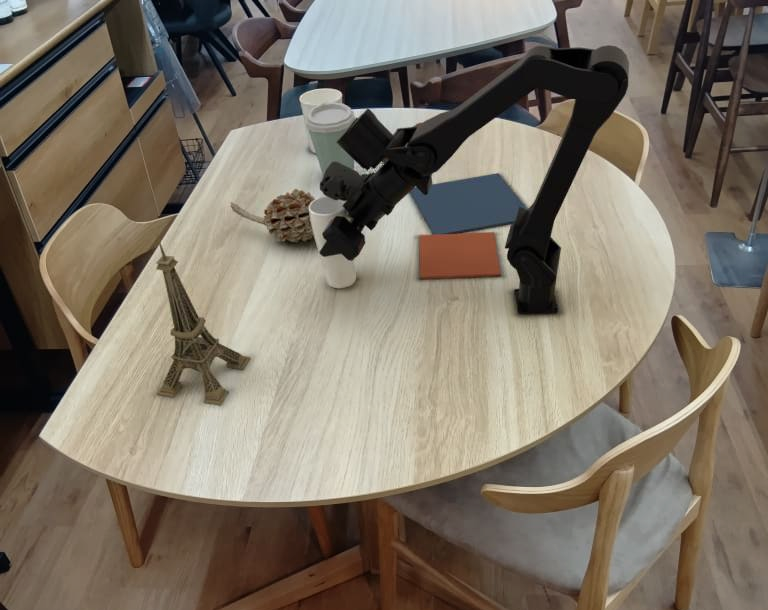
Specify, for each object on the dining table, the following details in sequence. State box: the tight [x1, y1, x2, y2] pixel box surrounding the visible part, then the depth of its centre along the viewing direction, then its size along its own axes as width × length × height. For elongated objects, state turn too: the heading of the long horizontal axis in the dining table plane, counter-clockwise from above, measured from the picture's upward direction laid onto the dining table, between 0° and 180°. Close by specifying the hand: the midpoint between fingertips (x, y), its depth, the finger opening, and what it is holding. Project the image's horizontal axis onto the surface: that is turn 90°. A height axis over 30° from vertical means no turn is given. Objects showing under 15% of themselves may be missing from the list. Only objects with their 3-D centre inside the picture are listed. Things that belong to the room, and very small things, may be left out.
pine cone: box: [229, 188, 316, 243], centre depth 127 cm, size 22×10×10 cm, turn 73°
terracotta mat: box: [419, 231, 501, 280], centre depth 122 cm, size 14×14×1 cm
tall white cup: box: [309, 195, 357, 289], centre depth 113 cm, size 7×7×15 cm
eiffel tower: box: [155, 231, 251, 406], centre depth 93 cm, size 11×11×25 cm
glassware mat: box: [409, 172, 528, 235], centre depth 135 cm, size 20×20×1 cm
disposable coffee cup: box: [305, 102, 356, 177], centre depth 142 cm, size 11×11×15 cm
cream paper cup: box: [298, 88, 343, 154], centre depth 156 cm, size 10×10×12 cm
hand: (328, 243), depth 113 cm, fingers closed on tall white cup, 6 cm apart
